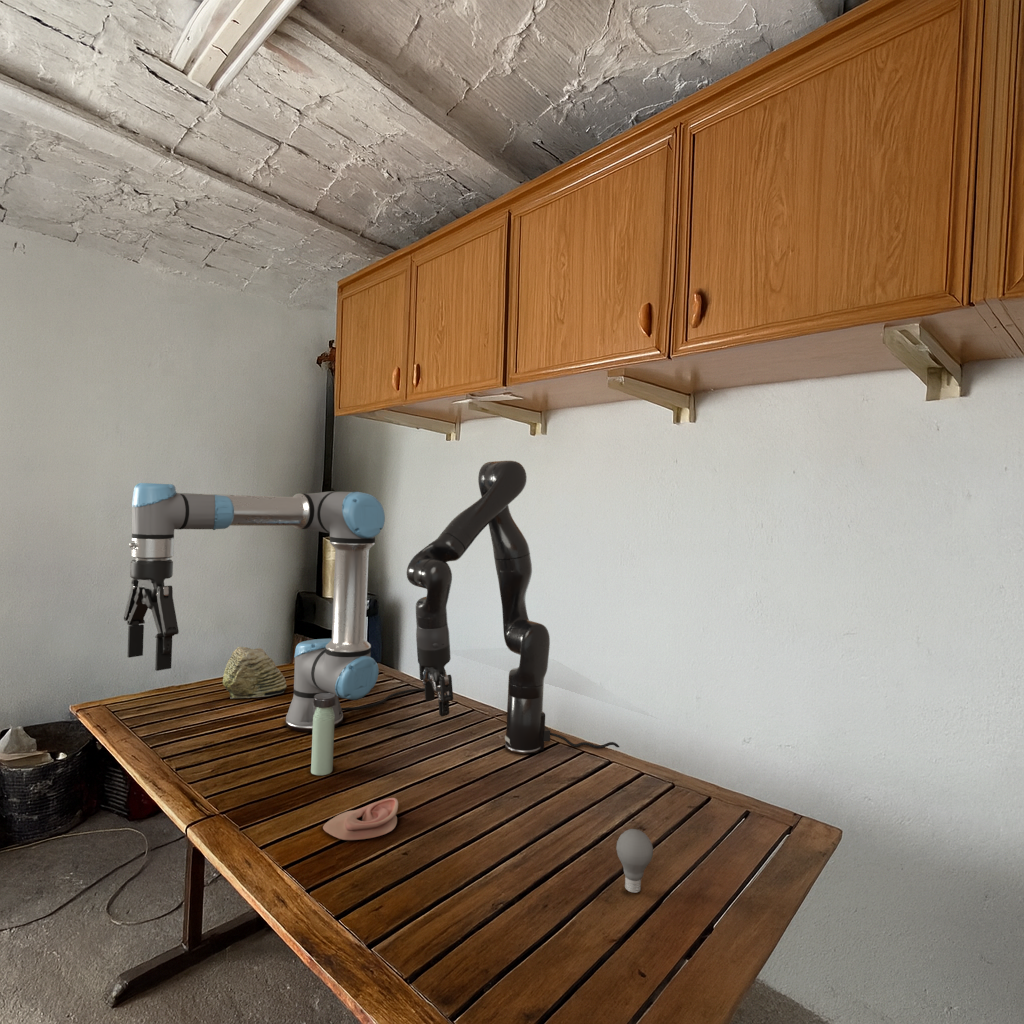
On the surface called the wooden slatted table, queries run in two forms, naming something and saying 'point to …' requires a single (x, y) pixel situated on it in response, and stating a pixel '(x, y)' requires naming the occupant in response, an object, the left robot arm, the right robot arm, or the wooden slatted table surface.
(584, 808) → the wooden slatted table surface
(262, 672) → the fossil
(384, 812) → the anatomical model
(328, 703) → the cap
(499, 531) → the right robot arm
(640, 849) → the light bulb
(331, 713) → the bottle
